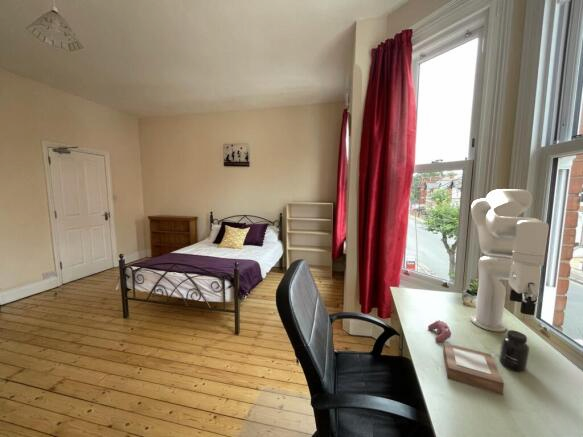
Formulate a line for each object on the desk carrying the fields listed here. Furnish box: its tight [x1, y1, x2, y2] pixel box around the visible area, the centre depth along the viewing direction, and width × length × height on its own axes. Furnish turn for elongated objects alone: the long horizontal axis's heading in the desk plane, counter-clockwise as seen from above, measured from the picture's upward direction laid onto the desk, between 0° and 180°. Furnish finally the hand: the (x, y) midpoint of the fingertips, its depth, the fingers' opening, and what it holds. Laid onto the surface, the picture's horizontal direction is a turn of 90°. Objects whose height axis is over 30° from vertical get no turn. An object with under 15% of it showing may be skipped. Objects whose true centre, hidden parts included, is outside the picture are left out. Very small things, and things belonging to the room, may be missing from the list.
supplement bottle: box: [499, 329, 530, 373], centre depth 84 cm, size 7×7×12 cm
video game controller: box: [427, 319, 452, 343], centre depth 101 cm, size 10×5×7 cm, turn 169°
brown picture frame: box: [442, 342, 505, 396], centre depth 82 cm, size 14×14×4 cm
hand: (520, 307), depth 81 cm, fingers open, 9 cm apart
